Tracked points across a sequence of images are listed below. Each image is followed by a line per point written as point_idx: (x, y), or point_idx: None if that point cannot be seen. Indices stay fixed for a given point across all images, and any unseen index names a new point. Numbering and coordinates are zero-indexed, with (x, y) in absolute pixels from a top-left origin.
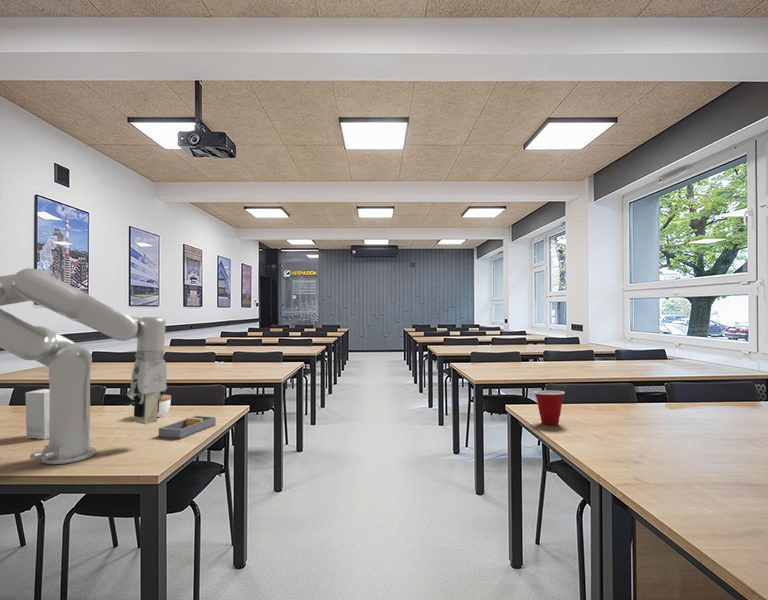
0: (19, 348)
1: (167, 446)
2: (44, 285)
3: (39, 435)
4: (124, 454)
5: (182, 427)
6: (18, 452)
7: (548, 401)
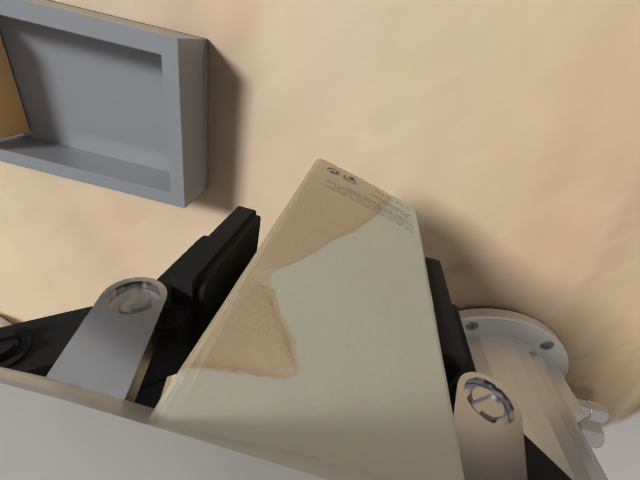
0: None
1: (351, 37)
2: None
3: None
4: (476, 203)
5: (50, 142)
6: None
7: None
